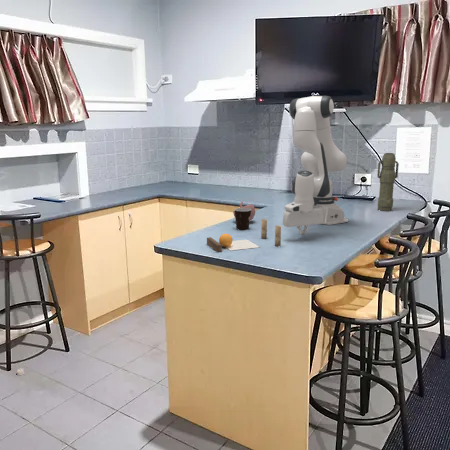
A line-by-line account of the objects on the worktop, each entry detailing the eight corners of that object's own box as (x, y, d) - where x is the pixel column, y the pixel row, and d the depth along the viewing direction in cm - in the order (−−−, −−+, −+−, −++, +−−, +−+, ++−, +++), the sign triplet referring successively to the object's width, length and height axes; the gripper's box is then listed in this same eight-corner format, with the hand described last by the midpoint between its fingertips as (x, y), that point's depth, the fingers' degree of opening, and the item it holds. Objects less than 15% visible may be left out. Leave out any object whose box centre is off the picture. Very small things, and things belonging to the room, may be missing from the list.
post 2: (278, 244, 213) (279, 225, 210) (281, 245, 210) (282, 226, 208) (273, 245, 212) (274, 225, 210) (276, 246, 209) (277, 227, 207)
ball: (230, 232, 211) (218, 231, 209) (235, 236, 206) (223, 235, 204) (228, 245, 213) (216, 244, 210) (233, 249, 207) (220, 248, 205)
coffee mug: (241, 225, 249) (241, 207, 246) (254, 228, 243) (254, 209, 241) (227, 229, 240) (227, 210, 238) (240, 232, 235) (240, 212, 232)
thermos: (397, 211, 286) (402, 153, 278) (378, 211, 285) (382, 153, 277) (391, 208, 295) (395, 152, 287) (373, 208, 294) (377, 152, 286)
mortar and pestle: (242, 218, 265) (242, 199, 263) (259, 221, 258) (259, 201, 255) (228, 222, 256) (228, 202, 254) (246, 225, 249) (246, 204, 246)
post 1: (265, 237, 225) (265, 219, 223) (267, 238, 223) (268, 220, 221) (260, 237, 224) (260, 219, 222) (262, 238, 222) (263, 220, 220)
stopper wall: (210, 243, 214) (210, 237, 213) (221, 251, 201) (221, 244, 201) (206, 244, 213) (206, 237, 213) (217, 252, 201) (217, 245, 200)
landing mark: (246, 239, 220) (246, 239, 220) (259, 247, 208) (259, 247, 208) (219, 242, 215) (219, 242, 215) (230, 250, 203) (230, 250, 203)
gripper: (319, 203, 226) (317, 231, 229) (281, 206, 219) (280, 234, 222) (326, 205, 221) (324, 233, 224) (288, 208, 213) (287, 237, 216)
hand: (302, 234), depth 223 cm, fingers closed
